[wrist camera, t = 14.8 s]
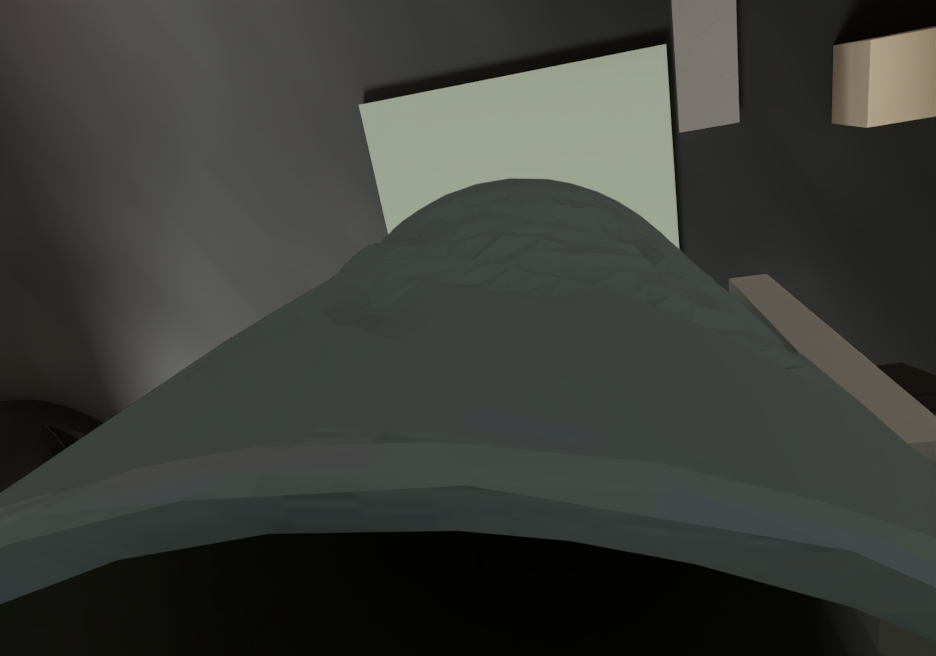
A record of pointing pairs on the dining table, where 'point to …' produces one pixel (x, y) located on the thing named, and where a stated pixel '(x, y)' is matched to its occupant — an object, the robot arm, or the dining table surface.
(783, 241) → the dining table surface
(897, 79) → the beige rectangular block
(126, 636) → the grey open tube
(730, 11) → the rails
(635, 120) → the coaster
